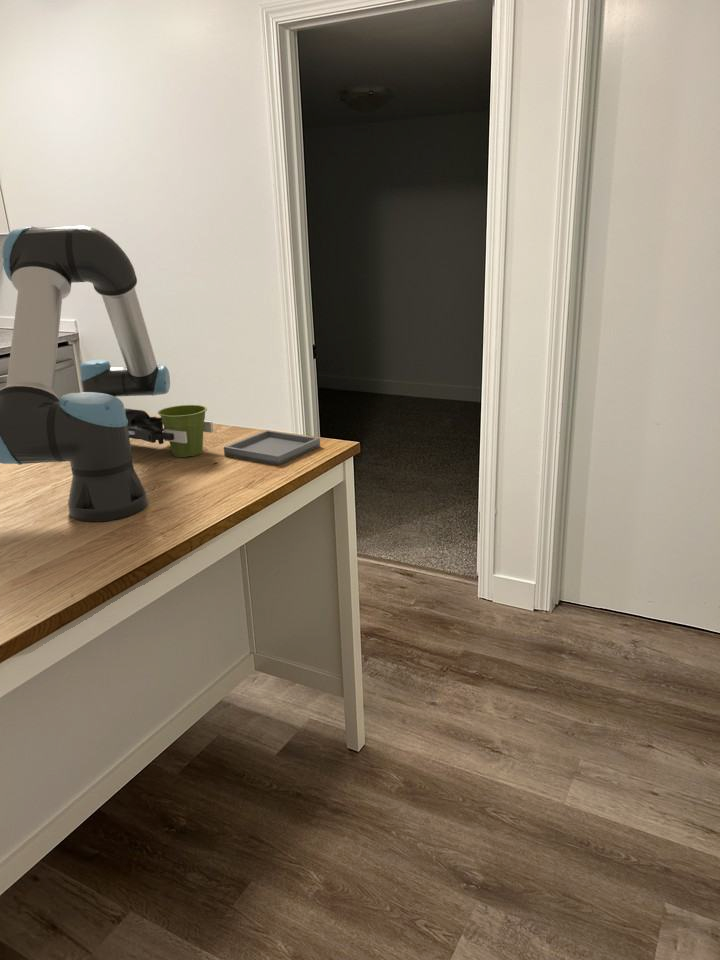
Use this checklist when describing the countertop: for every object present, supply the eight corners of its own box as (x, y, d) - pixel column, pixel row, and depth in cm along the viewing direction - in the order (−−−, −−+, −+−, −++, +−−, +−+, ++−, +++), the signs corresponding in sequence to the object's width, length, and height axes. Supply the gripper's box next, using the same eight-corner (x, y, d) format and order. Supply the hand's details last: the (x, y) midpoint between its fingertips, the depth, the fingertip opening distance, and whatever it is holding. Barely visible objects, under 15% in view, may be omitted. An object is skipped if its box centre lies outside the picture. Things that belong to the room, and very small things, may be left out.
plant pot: (217, 446, 186) (213, 404, 182) (203, 461, 175) (198, 415, 171) (172, 446, 187) (167, 404, 183) (156, 460, 176) (150, 416, 172)
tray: (320, 446, 183) (319, 438, 183) (279, 465, 170) (278, 456, 169) (267, 438, 192) (267, 430, 191) (224, 455, 178) (223, 447, 178)
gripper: (161, 426, 197) (227, 435, 187) (100, 449, 179) (170, 459, 169) (157, 400, 195) (224, 407, 185) (95, 419, 176) (167, 428, 167)
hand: (199, 432), depth 177 cm, fingers closed on plant pot, 9 cm apart
